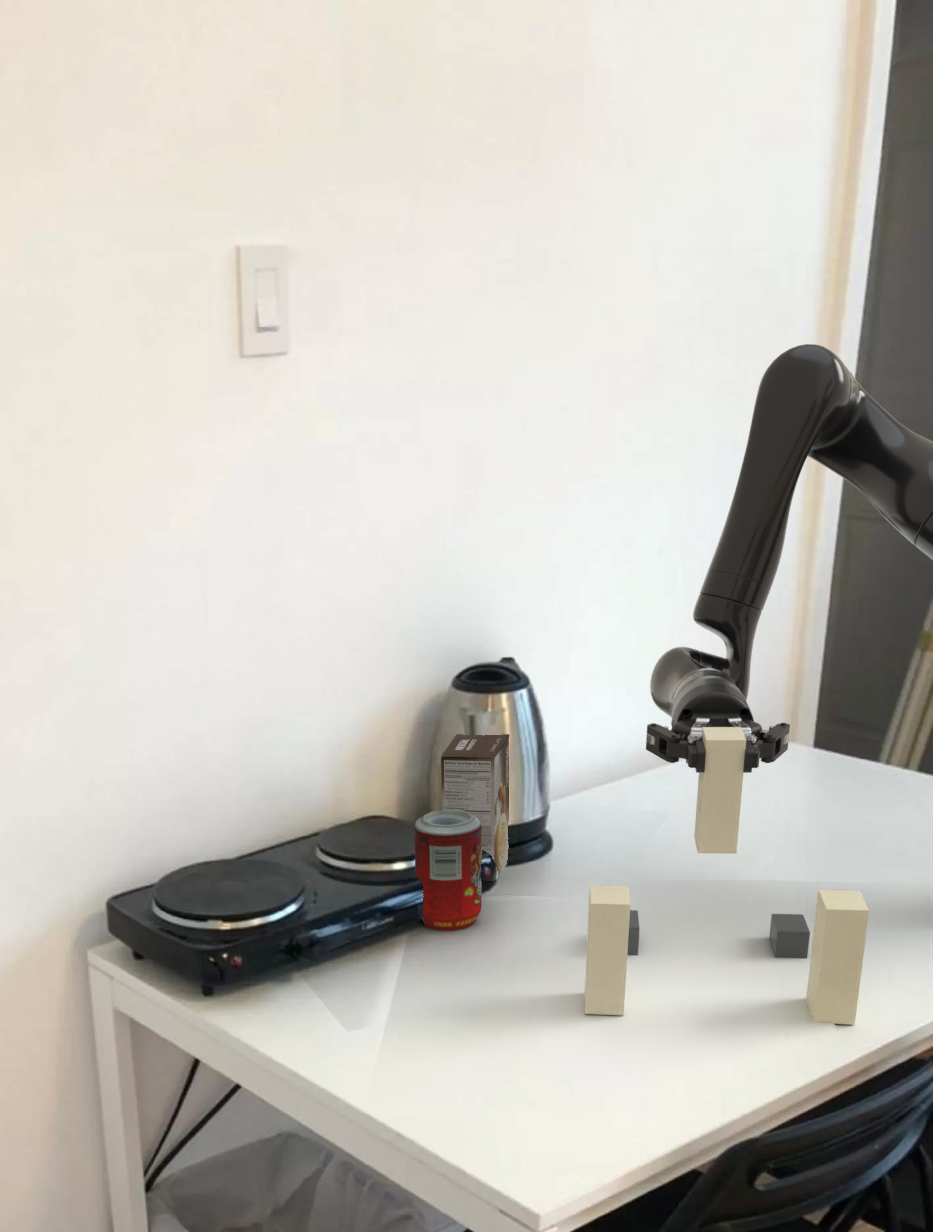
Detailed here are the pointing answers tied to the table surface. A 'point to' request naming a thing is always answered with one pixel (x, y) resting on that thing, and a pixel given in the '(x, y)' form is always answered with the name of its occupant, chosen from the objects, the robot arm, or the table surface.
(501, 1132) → the table surface
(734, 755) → the tall beige block
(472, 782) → the coffee box
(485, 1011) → the table surface
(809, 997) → the beige tall block
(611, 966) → the cream rectangular block
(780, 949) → the charcoal foam cube
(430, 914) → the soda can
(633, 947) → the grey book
